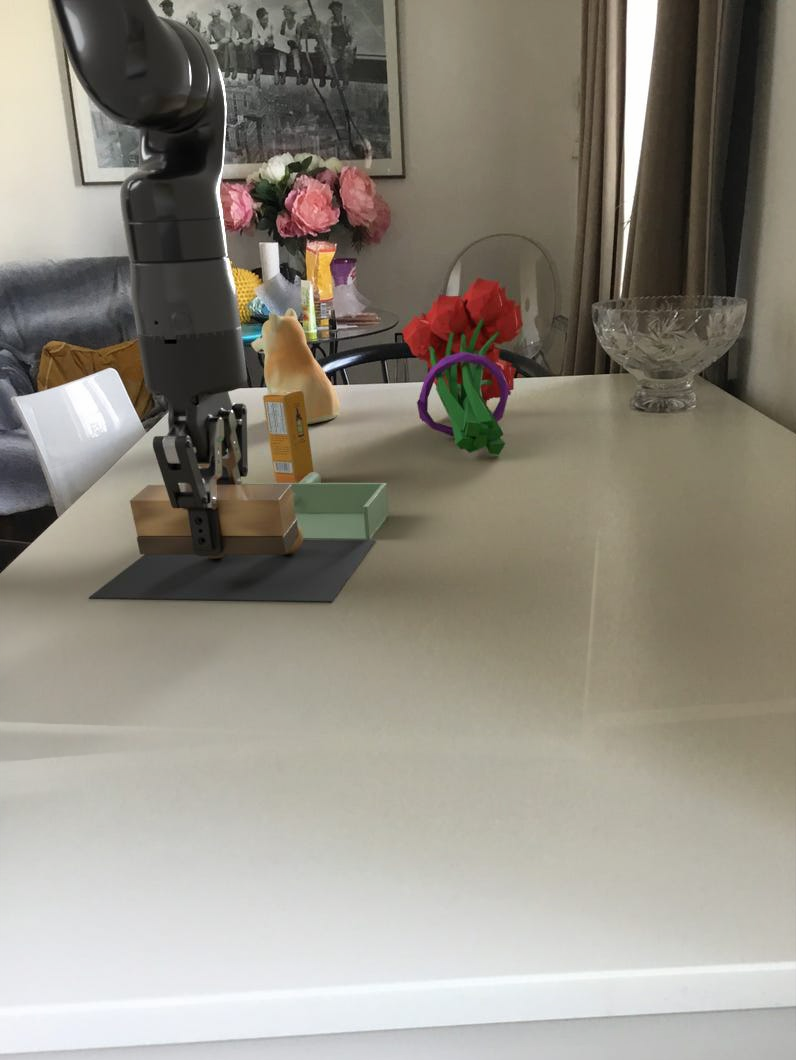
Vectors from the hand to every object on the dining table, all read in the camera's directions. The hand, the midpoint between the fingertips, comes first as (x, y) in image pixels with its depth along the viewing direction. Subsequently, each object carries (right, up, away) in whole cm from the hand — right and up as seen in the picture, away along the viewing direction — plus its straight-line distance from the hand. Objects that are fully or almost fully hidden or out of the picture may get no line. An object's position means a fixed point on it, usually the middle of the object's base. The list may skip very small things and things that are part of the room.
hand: (219, 544), depth 85 cm
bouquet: (+20, +19, +53) cm, 60 cm away
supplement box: (0, +10, +33) cm, 34 cm away
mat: (0, -2, +5) cm, 6 cm away
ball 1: (-2, +1, +7) cm, 7 cm away
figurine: (-5, +24, +68) cm, 72 cm away
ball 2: (+4, +1, +8) cm, 9 cm away
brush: (0, 0, 0) cm, 0 cm away
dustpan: (+3, +5, +20) cm, 21 cm away
